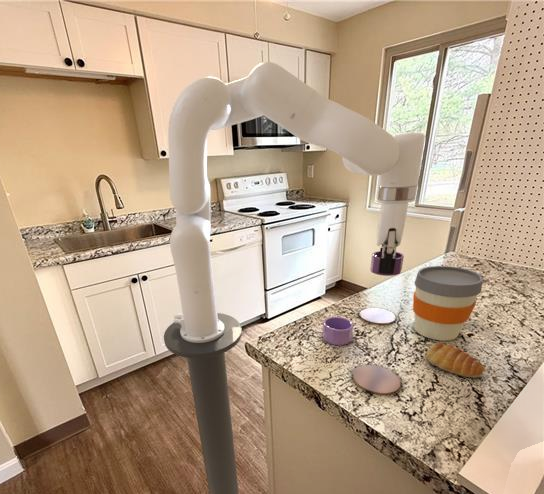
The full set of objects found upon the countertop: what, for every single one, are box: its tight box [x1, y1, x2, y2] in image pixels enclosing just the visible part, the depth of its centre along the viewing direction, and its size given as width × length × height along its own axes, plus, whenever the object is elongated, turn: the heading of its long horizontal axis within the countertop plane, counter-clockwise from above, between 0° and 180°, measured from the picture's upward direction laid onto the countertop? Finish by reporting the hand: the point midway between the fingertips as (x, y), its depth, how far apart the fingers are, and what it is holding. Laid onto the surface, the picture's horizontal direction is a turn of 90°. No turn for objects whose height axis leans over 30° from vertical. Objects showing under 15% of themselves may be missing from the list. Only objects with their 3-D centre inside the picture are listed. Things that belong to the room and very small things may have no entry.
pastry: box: [425, 341, 485, 379], centre depth 64 cm, size 9×7×4 cm
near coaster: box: [352, 364, 402, 395], centre depth 64 cm, size 9×9×1 cm
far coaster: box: [359, 307, 396, 325], centre depth 86 cm, size 9×9×1 cm
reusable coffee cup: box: [412, 265, 484, 341], centre depth 74 cm, size 13×13×15 cm
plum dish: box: [370, 250, 405, 277], centre depth 77 cm, size 7×7×4 cm
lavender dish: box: [322, 316, 354, 346], centre depth 78 cm, size 7×7×4 cm
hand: (385, 267), depth 78 cm, fingers closed on plum dish, 6 cm apart
